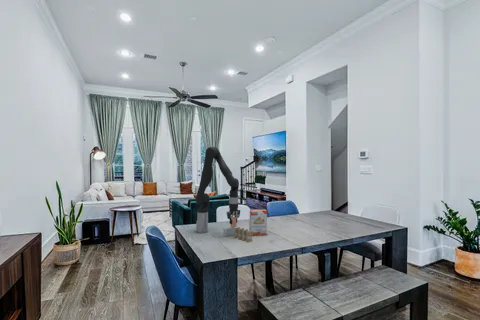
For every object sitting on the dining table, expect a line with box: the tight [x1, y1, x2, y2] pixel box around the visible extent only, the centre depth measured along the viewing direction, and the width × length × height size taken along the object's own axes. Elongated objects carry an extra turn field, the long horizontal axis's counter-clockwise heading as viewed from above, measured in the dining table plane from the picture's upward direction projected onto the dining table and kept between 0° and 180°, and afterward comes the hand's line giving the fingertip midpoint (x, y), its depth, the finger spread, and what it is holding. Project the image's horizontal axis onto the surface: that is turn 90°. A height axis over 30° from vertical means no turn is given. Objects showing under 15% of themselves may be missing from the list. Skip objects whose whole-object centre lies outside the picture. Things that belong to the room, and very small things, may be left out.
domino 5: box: [245, 230, 253, 243], centre depth 192 cm, size 2×5×8 cm, turn 135°
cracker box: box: [248, 209, 268, 237], centre depth 211 cm, size 14×6×21 cm, turn 101°
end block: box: [222, 226, 236, 238], centre depth 209 cm, size 3×10×6 cm, turn 135°
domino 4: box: [241, 229, 249, 242], centre depth 195 cm, size 2×5×8 cm, turn 135°
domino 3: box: [237, 227, 245, 240], centre depth 199 cm, size 2×5×8 cm, turn 135°
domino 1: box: [230, 216, 237, 228], centre depth 205 cm, size 2×5×8 cm, turn 135°
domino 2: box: [233, 226, 241, 239], centre depth 202 cm, size 2×5×8 cm, turn 135°
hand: (233, 223), depth 205 cm, fingers closed on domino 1, 5 cm apart
